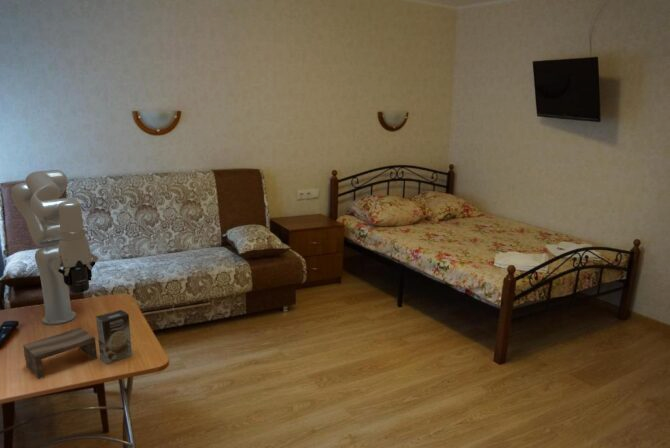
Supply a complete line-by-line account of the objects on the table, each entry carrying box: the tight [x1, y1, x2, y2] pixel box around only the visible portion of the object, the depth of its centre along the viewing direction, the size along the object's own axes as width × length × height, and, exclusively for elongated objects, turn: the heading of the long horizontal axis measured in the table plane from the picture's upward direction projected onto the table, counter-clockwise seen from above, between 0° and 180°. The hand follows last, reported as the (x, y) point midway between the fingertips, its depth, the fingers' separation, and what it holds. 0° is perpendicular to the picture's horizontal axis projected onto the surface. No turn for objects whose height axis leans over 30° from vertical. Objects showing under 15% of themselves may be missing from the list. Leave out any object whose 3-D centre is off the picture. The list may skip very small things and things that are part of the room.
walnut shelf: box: [22, 327, 98, 380], centre depth 176 cm, size 12×19×8 cm, turn 137°
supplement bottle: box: [68, 260, 90, 294], centre depth 187 cm, size 7×7×12 cm
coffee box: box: [95, 309, 133, 365], centre depth 179 cm, size 9×6×16 cm
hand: (78, 281), depth 187 cm, fingers closed on supplement bottle, 6 cm apart
